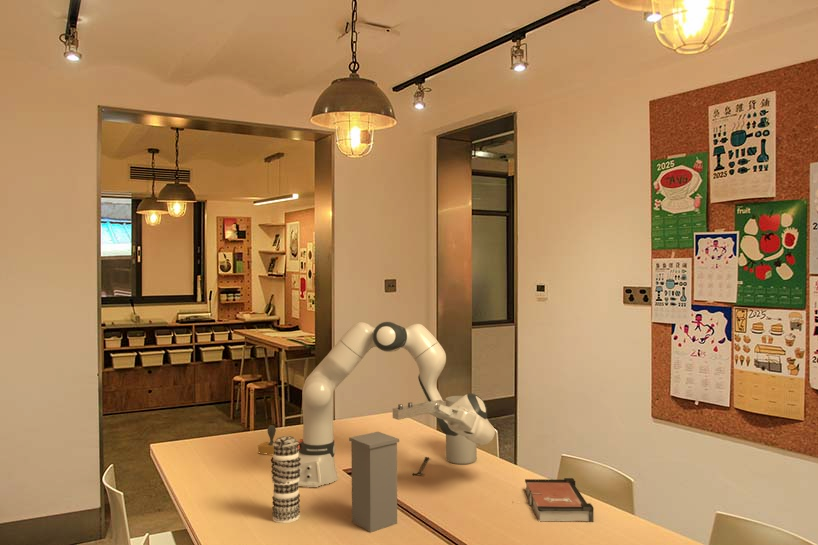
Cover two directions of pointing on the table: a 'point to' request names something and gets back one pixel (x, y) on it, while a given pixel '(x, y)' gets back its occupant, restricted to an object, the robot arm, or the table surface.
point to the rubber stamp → (268, 446)
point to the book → (558, 501)
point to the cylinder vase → (459, 444)
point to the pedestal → (374, 480)
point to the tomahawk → (421, 467)
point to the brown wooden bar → (416, 409)
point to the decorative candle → (285, 480)
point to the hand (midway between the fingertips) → (434, 405)
